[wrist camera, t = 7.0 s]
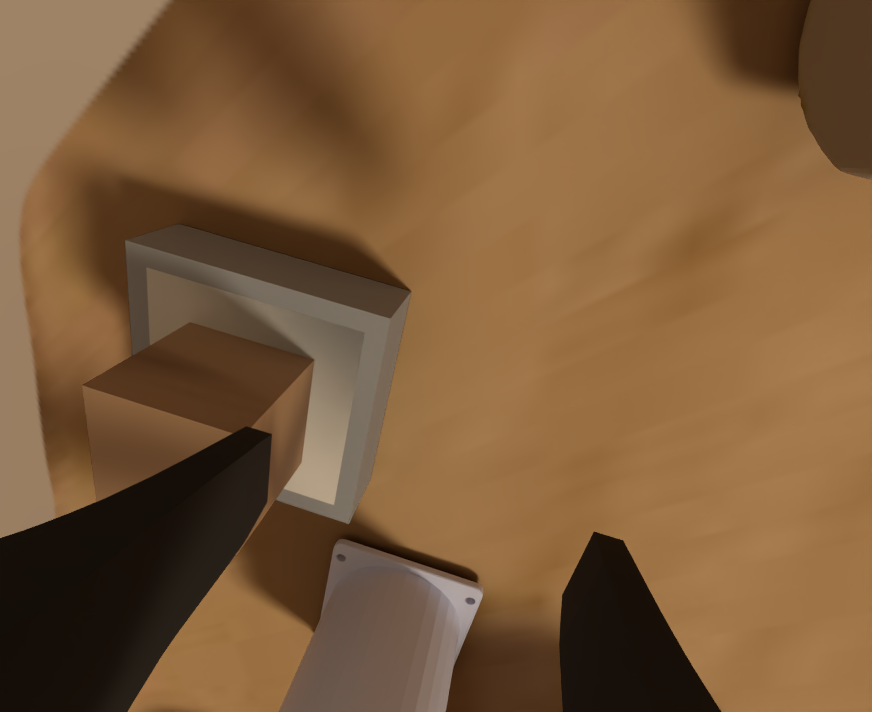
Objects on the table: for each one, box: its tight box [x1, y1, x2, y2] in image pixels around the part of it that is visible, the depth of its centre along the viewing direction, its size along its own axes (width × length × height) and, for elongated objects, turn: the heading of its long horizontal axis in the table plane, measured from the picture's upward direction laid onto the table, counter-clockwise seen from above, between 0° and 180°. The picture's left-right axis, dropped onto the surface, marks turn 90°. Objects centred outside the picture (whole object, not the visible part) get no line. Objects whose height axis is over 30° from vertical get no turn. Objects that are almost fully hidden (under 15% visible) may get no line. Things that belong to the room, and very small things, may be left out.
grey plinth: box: [125, 224, 411, 524], centre depth 21 cm, size 10×10×3 cm
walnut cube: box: [82, 322, 314, 556], centre depth 18 cm, size 5×5×5 cm
